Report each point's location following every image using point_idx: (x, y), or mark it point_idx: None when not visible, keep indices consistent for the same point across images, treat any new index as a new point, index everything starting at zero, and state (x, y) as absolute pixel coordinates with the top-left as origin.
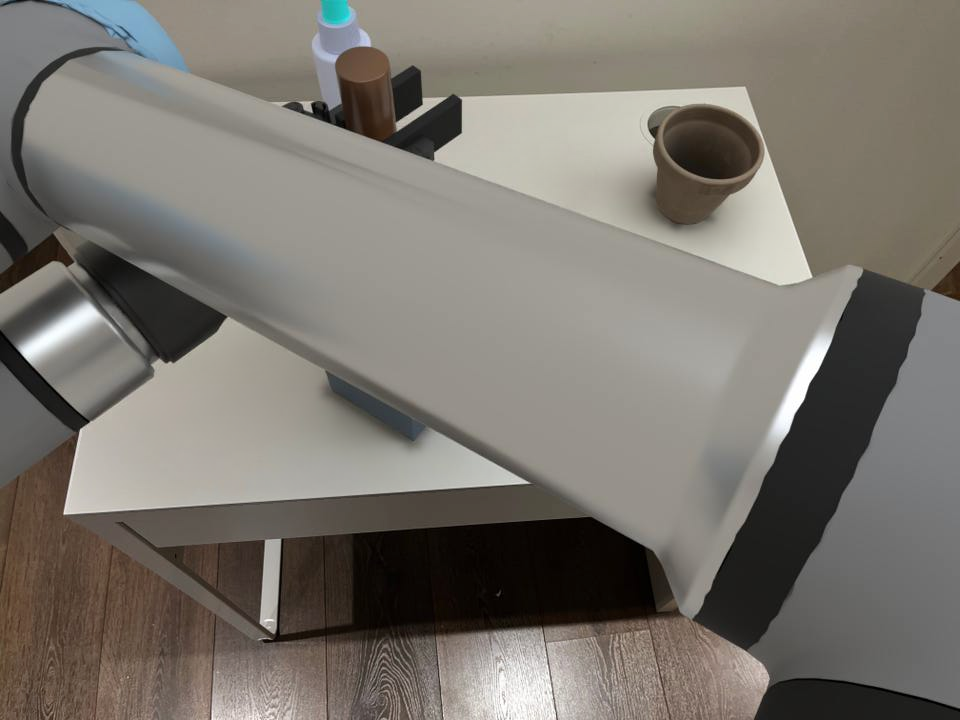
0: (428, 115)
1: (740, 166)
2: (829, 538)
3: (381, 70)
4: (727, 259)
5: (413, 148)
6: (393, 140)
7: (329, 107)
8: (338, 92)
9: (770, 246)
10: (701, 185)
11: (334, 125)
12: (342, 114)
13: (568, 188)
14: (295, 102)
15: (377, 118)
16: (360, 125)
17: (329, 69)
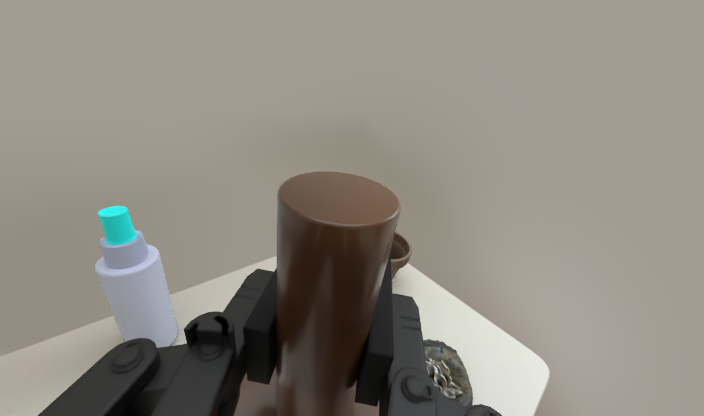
0: None
1: (395, 249)
2: None
3: (388, 194)
4: (413, 296)
5: (400, 319)
6: (382, 322)
7: (121, 314)
8: (131, 298)
9: (421, 281)
10: (397, 263)
11: (242, 348)
12: (259, 319)
13: None
14: (131, 342)
15: (377, 295)
16: (348, 326)
17: (119, 282)
